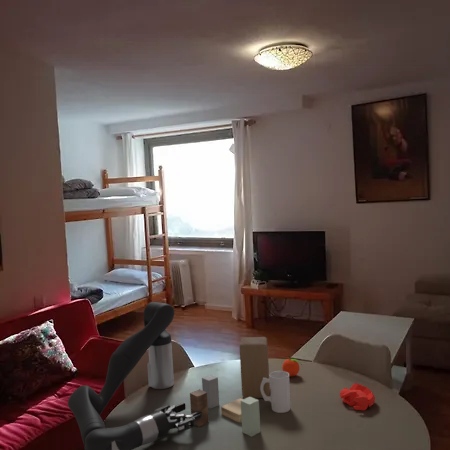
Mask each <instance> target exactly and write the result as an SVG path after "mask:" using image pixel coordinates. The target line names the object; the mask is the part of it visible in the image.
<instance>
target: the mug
mask: <svg viewBox="0 0 450 450" xmlns="http://www.w3.org/2000/svg"><path fill="white" fill-rule="evenodd" d="M267 382H268V383H270V396H266V395H265V393H264V390H263V386H264V384H265V383H267ZM260 390H261V394H262V396H263V398H262V399H263V400H264V401H265V402H270V404H271V410H272V411H273V412H275V413H278V414H283V413H287V412H289V411H290V410H291V399H290V398H291V397H290V396H291V395H290V393H291V391H290V390H291V389H290V376H289V373H288V372H285V371H283V370H275V371H271V372H269V379H267V378H264V377H263V380H262V382H261V386H260Z"/></svg>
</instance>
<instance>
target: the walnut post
mask: <svg viewBox="0 0 450 450" xmlns="http://www.w3.org/2000/svg"><path fill="white" fill-rule="evenodd" d="M189 400H190V401H189V403H190V415H191V414H193V413H196V412H198V411H201V412H202V418H201V419H199V420H196V421H195V427H197V428H198V427H199V428H200V427H203V426H204V425H208V424H209V421H210V420H209V408H208V401H207V392H204V391H203V389H201V388H199V389H196V390H193V391H192V392H190V393H189Z"/></svg>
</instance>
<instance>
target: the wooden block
mask: <svg viewBox="0 0 450 450" xmlns="http://www.w3.org/2000/svg"><path fill="white" fill-rule="evenodd" d="M268 345H269V344H268V338H267V337H266V336H253V337H252V336H249V337H248V336H246V337H244V336H243V337H241V338H240V343H239V360H240V361H239V362H240V377H241V378H240V379H241V380H240V381H241V382H240V383H241V395H242V397H243V398H242V399H245V398H248V397H252V398H255V399H264V398H263V396H262V394H261V390H260V386H261V382H262V380H263V377H264V378H267V379H269V378H270V377H269V374H270V368H269V367H270V364H269V348H268ZM263 390H264V393H265V395H266V396H271V391H270V383H268V382H267V383H265V384H264V386H263Z"/></svg>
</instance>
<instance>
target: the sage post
mask: <svg viewBox="0 0 450 450" xmlns="http://www.w3.org/2000/svg"><path fill="white" fill-rule="evenodd" d="M242 399H243V400H241V418H242V422H241V430H242V431H241V432H242V434H246V436H249V437H254V436H256V435H257V434H259V433H261V418H260V416H261V415H260V400H259V399H258V398H252V397H248V398H242Z"/></svg>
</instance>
